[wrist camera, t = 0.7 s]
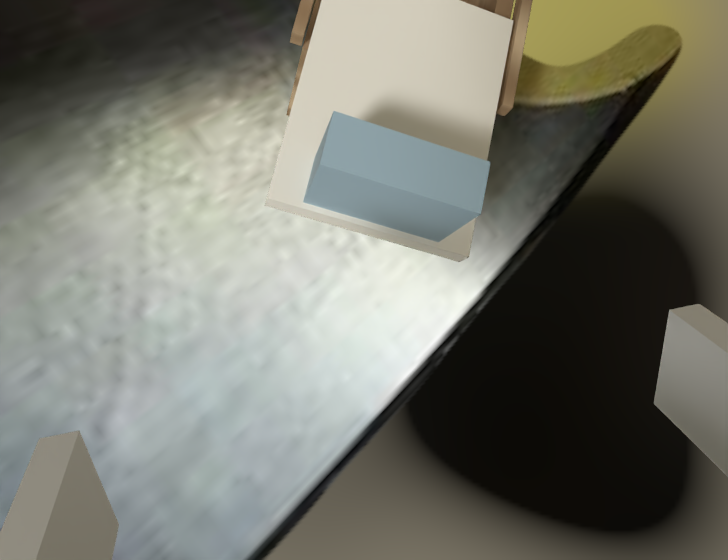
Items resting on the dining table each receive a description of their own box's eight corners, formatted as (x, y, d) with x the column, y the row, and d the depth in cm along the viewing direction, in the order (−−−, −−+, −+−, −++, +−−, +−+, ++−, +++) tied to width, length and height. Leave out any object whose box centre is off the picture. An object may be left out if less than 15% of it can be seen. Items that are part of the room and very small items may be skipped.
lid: (459, 262, 31) (516, 231, 25) (264, 205, 29) (276, 158, 23) (503, 33, 34) (563, -43, 28) (330, -32, 32) (355, -127, 26)
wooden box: (450, 167, 41) (512, 108, 32) (276, 111, 39) (292, 31, 30) (485, -3, 44) (550, -99, 35) (325, -64, 42) (353, -182, 33)
